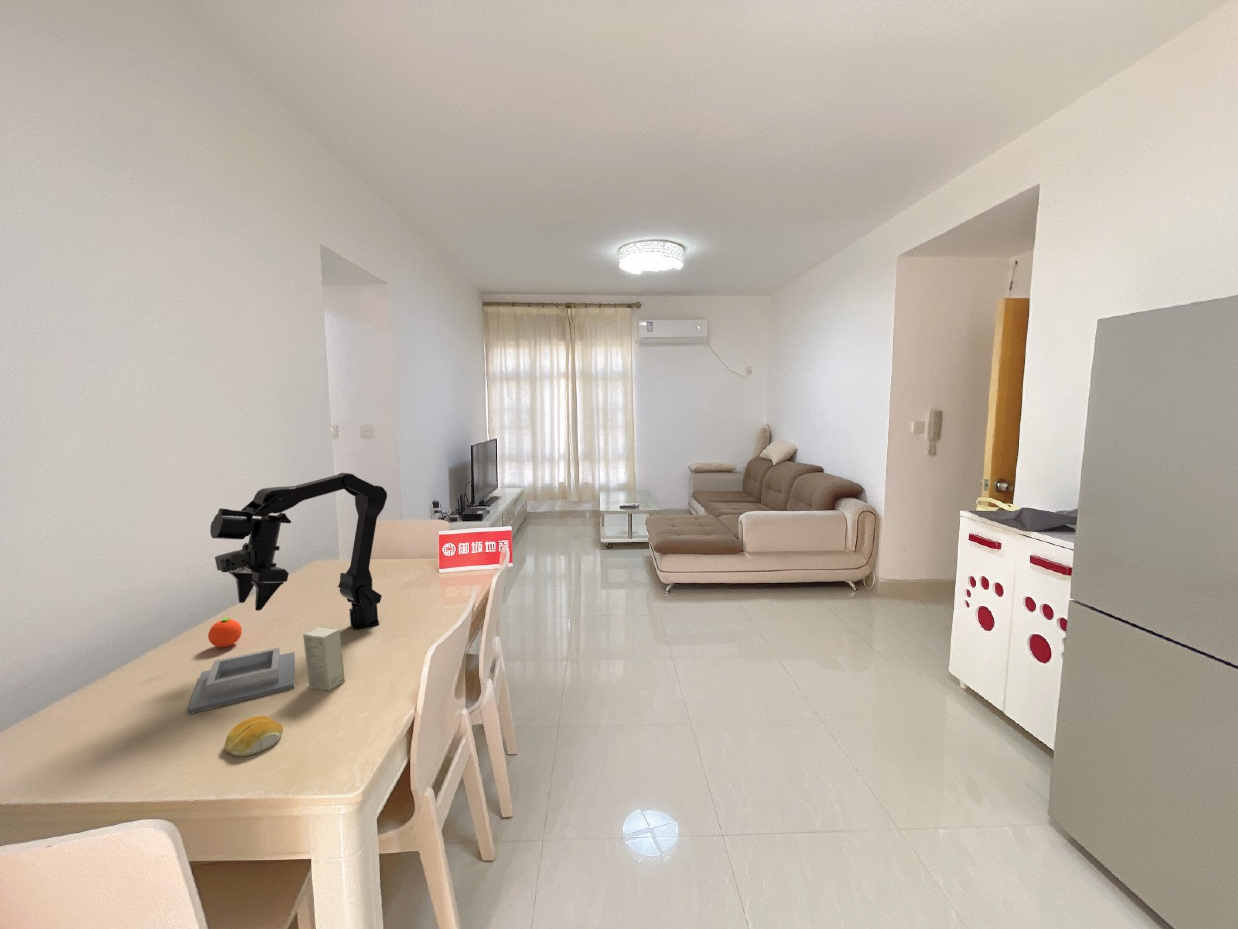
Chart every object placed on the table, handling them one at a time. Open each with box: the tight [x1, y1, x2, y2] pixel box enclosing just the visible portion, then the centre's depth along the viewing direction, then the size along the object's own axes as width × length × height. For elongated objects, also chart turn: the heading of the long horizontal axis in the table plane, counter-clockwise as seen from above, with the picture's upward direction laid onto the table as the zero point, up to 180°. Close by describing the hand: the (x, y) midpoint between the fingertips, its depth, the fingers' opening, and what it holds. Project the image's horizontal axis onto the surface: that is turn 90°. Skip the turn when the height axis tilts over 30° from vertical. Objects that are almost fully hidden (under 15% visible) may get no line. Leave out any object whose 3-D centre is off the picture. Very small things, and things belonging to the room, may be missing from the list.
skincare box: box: [302, 626, 346, 691], centre depth 114 cm, size 6×4×12 cm
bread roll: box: [224, 715, 284, 757], centre depth 95 cm, size 8×9×4 cm
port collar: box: [206, 647, 281, 699], centre depth 116 cm, size 12×12×3 cm
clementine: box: [207, 617, 243, 648], centre depth 135 cm, size 8×7×7 cm
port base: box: [187, 651, 296, 715], centre depth 116 cm, size 18×18×1 cm
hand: (249, 606), depth 123 cm, fingers open, 9 cm apart
